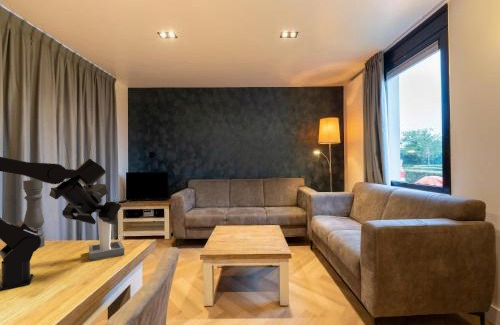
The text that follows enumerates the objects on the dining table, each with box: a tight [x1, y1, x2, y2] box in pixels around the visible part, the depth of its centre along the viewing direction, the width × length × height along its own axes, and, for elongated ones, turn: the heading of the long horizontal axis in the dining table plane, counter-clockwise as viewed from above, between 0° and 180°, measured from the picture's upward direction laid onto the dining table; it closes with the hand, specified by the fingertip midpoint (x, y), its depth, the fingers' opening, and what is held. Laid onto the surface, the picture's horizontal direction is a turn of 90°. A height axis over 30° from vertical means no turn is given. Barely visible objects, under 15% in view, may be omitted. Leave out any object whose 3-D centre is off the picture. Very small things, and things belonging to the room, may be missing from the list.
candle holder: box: [22, 179, 46, 249], centre depth 102 cm, size 6×6×25 cm
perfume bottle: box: [96, 215, 112, 251], centre depth 93 cm, size 5×4×15 cm
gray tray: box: [88, 240, 125, 262], centre depth 93 cm, size 10×10×2 cm
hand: (105, 223), depth 93 cm, fingers open, 9 cm apart
